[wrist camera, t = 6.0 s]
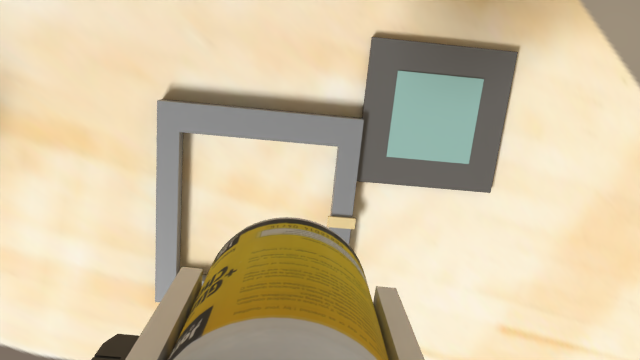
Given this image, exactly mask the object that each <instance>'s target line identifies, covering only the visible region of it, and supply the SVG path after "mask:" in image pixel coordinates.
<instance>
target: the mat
mask: <svg viewBox="0 0 640 360" xmlns="http://www.w3.org/2000/svg"><path fill="white" fill-rule="evenodd" d="M517 53H518V52H511V51H502V50H492V49H482V48H473V47H463V46H453V45H444V44H434V43H425V42H415V41H405V40H396V39H386V38H376V37H372V40H371V48H370V57H369V65H368V74H367V82H366V90H365V99H364V107H363V116H362V119H363V120H364V123H363V132H362V140H361V148H360V157H359V165H358V173H357V181H361V182H372V183H384V184H395V185H406V186H418V187H429V188H441V189H452V190H464V191H475V192H487V193H490V192H491V187H492V182H493V176H494V171H495V166H496V161H497V156H498V151H499V146H500V140H501V135H502V130H503V125H504V120H505V115H506V110H507V105H508V99H509V94H510V89H511V84H512V79H513V74H514V69H515V63H516V58H517Z"/></svg>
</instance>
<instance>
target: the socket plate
mask: <svg viewBox="0 0 640 360" xmlns="http://www.w3.org/2000/svg"><path fill="white" fill-rule="evenodd" d="M363 123H364V120H363V119H362V118H354V117H343V116H332V115H322V114H311V113H301V112H290V111H280V110H269V109H258V108H248V107H237V106H227V105H216V104H206V103H195V102H184V101H174V100H163V99H161V100H157V182H156V276H155V302H161V300H162V299H163V297H164V295H165V294H166V292H167V291H168V289H169V287H170V286H171V284H172V282H173V281H174V279H175V277H176V276H177V274H178V273H179V271H180V237H181V196H182V155H183V132H184V133H195V134H206V135H217V136H228V137H239V138H250V139H261V140H272V141H283V142H294V143H305V144H316V145H327V146H338V150H337V159H336V169H335V178H334V187H333V196H332V206H331V215H330V216H328V222H327V227H329V229H330V230H332V231H333V232H335V233H336V234H338V235H339V236H340V237H341V238H342V239H343V240H345V241H346V243H347V244H348V245H349V240H350V231H351V229H355V222H356V218H352V215H353V206H354V198H355V190H356V181H357V173H358V165H359V157H360V148H361V140H362V132H363ZM206 277H207V275H202V285H203V283H204V281H205V279H206Z"/></svg>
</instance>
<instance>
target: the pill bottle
mask: <svg viewBox="0 0 640 360" xmlns="http://www.w3.org/2000/svg"><path fill="white" fill-rule="evenodd" d="M168 360H389V359H388V355H387V352H386V348H385V344H384V341H383V337H382V333H381V330H380V326H379V323H378V319H377V316H376V312H375V309H374V305H373V302H372V299H371V295H370V292H369V288H368V285H367V281H366V277H365V274H364V271H363V268H362V266H361V264H360V261H359V259H358V257H357V256H356V254H355V253H354V251H353V250H352V248H351V247H350V246H349V245H348V244H347V243H346V241H345V240H343V239H342V238H341V237H340V236H339V235H338V234H336V233H335V232H333V231H332V230H330V229H328V228H327V227H325V226H323V225H321V224H318V223H315V222H313V221H309V220H305V219H300V218H288V217H285V218H274V219H269V220H264V221H261V222H258V223H255V224H253V225H251V226H249V227H247V228H245V229H244V230H242V231H241V232H239V233H238V234H236V235H235V236H234V237H233V238H232V239H230V240H229V241H228V242H227V243H226V244H225V246H224V247H223V248H222V249H221V250H220V252H219V253H218V255H217V256H216V258H215V260H214V262H213V263H212V266H211V268H210V270H209V272H208V274H207V277H206V279H205V281H204V283H203V285H202V288H201V290H200V292H199V294H198V296H197V298H196V300H195V303H194V305H193V307H192V309H191V311H190V314H189V316H188V318H187V320H186V322H185V325H184V327H183V329H182V331H181V333H180V336H179V338H178V340H177V342H176V344H175V346H174V348H173V350H172V352H171V354H170V356H169V359H168Z"/></svg>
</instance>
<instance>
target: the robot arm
mask: <svg viewBox="0 0 640 360" xmlns="http://www.w3.org/2000/svg"><path fill="white" fill-rule="evenodd" d="M202 275H203V269H200V268H190V267H182V268H181V269H180V271H179V273H178V274H177V276H176V277H175V279H174V281H173V282H172V284H171V286H170V287H169V289H168V291H167V292H166V294H165V295H164V297H163V299H162V300H161V302H160V304H159V305H158V307H157V308H156V310H155V312H154V313H153V315H152V317H151V318H150V320H149V322H148V323H147V325H146V326H145V328H144V330H143V331H142V333H141V335H140V336H135V335H124V334H117V335H115V336H114V337H112V338H111V339H109V340H108V341H106V342H105V343H103V344H102V346H101V347H100V349H99V350H98V351H97V353H96V354H95V357H93V358H92V360H168V359H169V356H170V354H171V352H172V350H173V348H174V346H175V344H176V342H177V340H178V338H179V336H180V333H181V331H182V329H183V327H184V325H185V322H186V320H187V318H188V316H189V314H190V311H191V309H192V307H193V305H194V303H195V300H196V298H197V296H198V294H199V292H200V290H201V288H202ZM373 305H374V309H375V312H376V316H377V319H378V323H379V326H380V330H381V333H382V337H383V341H384V344H385V348H386V352H387V355H388V359H389V360H424V357H423V355H422V352H421V350H420V347H419V345H418V342H417V340H416V337H415V335H414V332H413V330H412V327H411V325H410V322H409V320H408V317H407V315H406V312H405V310H404V307H403V305H402V302H401V300H400V297H399V295H398V292H397V290H396V288H388V287H378V286H376V290H375V296H374V302H373Z"/></svg>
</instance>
